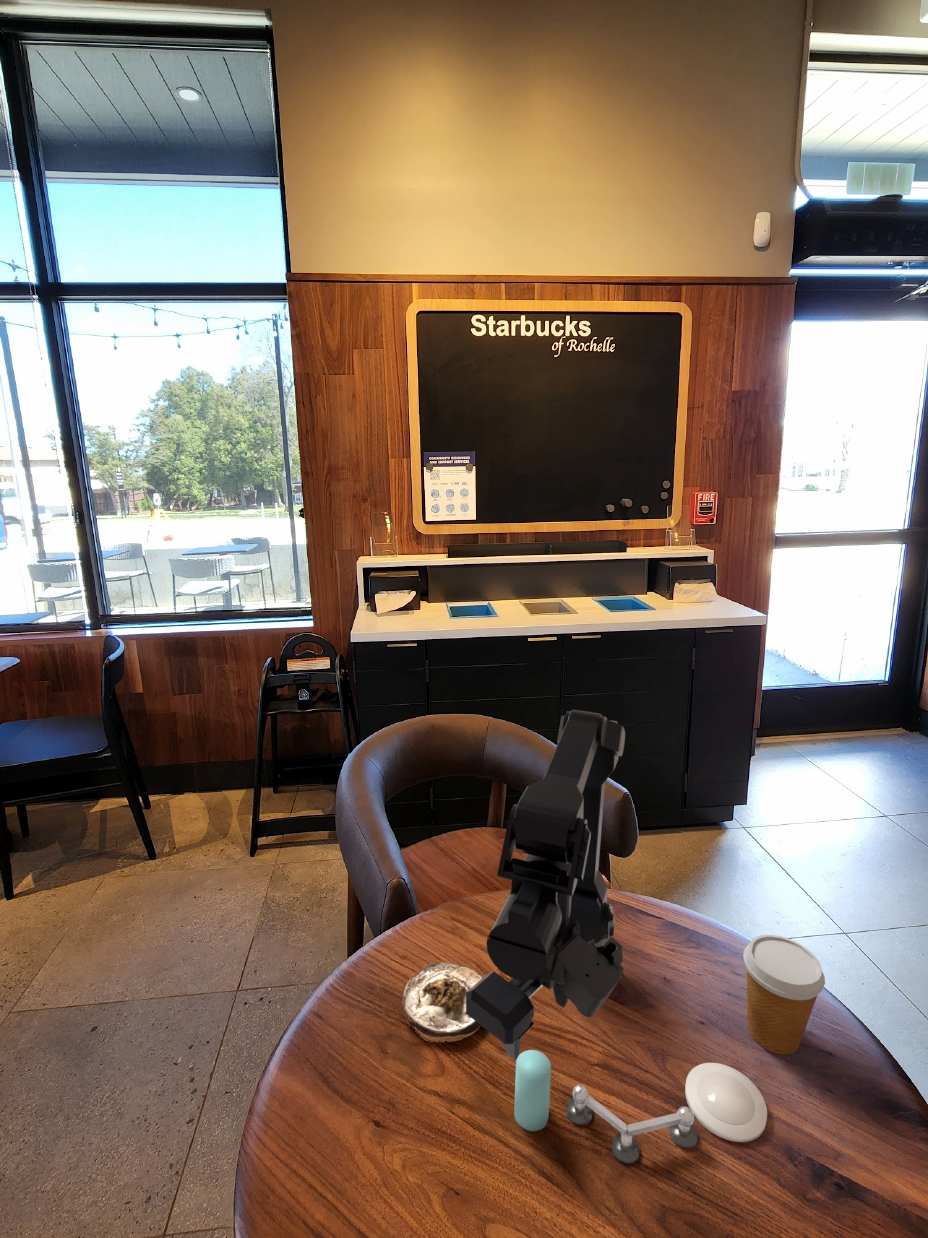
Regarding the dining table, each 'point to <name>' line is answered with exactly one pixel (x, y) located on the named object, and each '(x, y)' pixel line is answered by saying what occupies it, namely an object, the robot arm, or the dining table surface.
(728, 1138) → the saucer
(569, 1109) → the railing
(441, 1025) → the sushi roll
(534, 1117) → the peg
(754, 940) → the disposable coffee cup
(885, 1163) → the dining table surface
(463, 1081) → the dining table surface
